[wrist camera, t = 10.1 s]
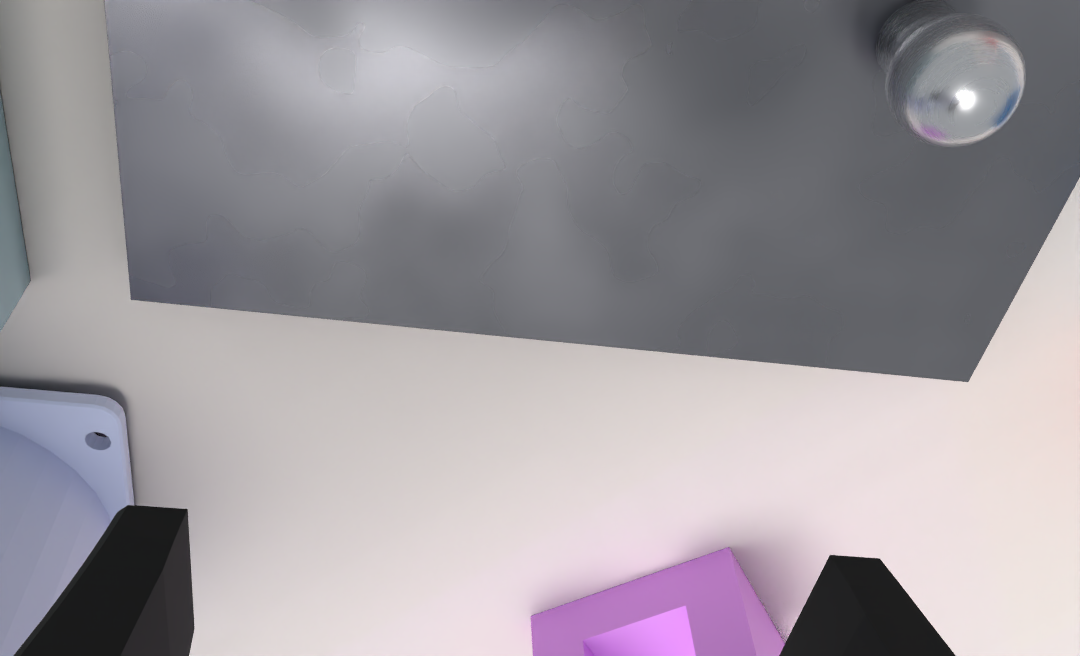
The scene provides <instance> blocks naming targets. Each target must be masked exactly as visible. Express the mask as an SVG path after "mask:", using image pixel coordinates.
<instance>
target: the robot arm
mask: <svg viewBox="0 0 1080 656" xmlns="http://www.w3.org/2000/svg"><path fill="white" fill-rule="evenodd" d="M93 432H99V433H103V434H105V435H106V436H107V437H101V436H98V435H96V434H95V433H93ZM193 633H194V614H193V596H192V579H191V562H190V544H189V527H188V510H187V509H177V508H163V507H149V506H135V505H134V496H133V486H132V476H131V467H130V457H129V447H128V437H127V427H126V418H125V413H124V410H123V408H122V407H121V406H120V405H119V404H118V403H117V402H116V401H115V400H113V399H111V398H109V397H105V396H101V395H94V394H82V393H70V392H58V391H47V390H35V389H23V388H12V387H0V656H189V653H190V648H191V643H192V638H193ZM779 656H955V654H954V653H953V652H952V651H951V649H950V648H949V647H948V645H947V644H946V643H945V642H944V640H943V639H942V638H941V637H940V635H939V634H938V633H937V631H936V630H935V629H934V628H933V626H932V625H931V624H930V622H929V621H928V620H927V618H926V617H925V616H924V615H923V613H922V612H921V611H920V609H919V608H918V607H917V606H916V604H915V603H914V602H913V600H912V599H911V598H910V596H909V595H908V594H907V593H906V591H905V590H904V589H903V587H902V586H901V585H900V584H899V582H898V581H897V580H896V579H895V577H894V576H893V575H892V573H891V572H890V571H889V570H888V568H887V567H886V566H885V565H884V563H883V562H882V561H881V560H880V559H878V558H864V557H850V556H836V555H830V556H829V558H828V560H827V562H826V564H825V566H824V568H823V570H822V572H821V574H820V576H819V578H818V580H817V582H816V584H815V586H814V588H813V590H812V592H811V594H810V596H809V598H808V600H807V602H806V604H805V606H804V608H803V610H802V612H801V614H800V615H799V617H798V619H797V621H796V623H795V625H794V627H793V629H792V631H791V633H790V635H789V637H788V639H787V641H786V643H785V645H784V647H783V649H782V651H781V653H780V655H779Z"/></svg>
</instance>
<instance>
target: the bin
mask: <svg viewBox="0 0 1080 656" xmlns="http://www.w3.org/2000/svg"><path fill="white" fill-rule="evenodd" d="M29 283H30V275H29V268H28V262H27V256H26V250H25V243H24V237H23V231H22V224H21V218H20V212H19V206H18V199H17V193H16V187H15V181H14V174H13V168H12V162H11V156H10V149H9V143H8V137H7V131H6V124H5V118H4V112H3V105H2V99H1V93H0V332H1V330H2V328H3V327H4V325H5V323H6V322H7V320H8V318H9V316H10V315H11V313H12V311H13V310H14V308H15V306H16V305H17V303H18V301H19V300H20V298H21V296H22V294H23V293H24V291H25V289H26V288H27V286H28V284H29Z"/></svg>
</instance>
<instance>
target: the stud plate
mask: <svg viewBox="0 0 1080 656" xmlns="http://www.w3.org/2000/svg"><path fill="white" fill-rule="evenodd" d="M104 2H105V13H106V25H107V36H108V47H109V58H110V69H111V80H112V92H113V103H114V114H115V125H116V136H117V148H118V159H119V170H120V181H121V192H122V203H123V215H124V226H125V237H126V248H127V259H128V270H129V282H130V293H131V300H139V301H150V302H160V303H170V304H180V305H190V306H200V307H211V308H221V309H231V310H241V311H251V312H261V313H272V314H282V315H292V316H302V317H312V318H322V319H332V320H343V321H353V322H363V323H373V324H383V325H393V326H404V327H414V328H424V329H434V330H444V331H454V332H465V333H475V334H485V335H495V336H505V337H515V338H526V339H536V340H546V341H556V342H566V343H576V344H587V345H597V346H607V347H617V348H627V349H637V350H648V351H658V352H668V353H678V354H688V355H698V356H709V357H719V358H729V359H739V360H749V361H759V362H770V363H780V364H790V365H800V366H810V367H820V368H831V369H841V370H851V371H861V372H871V373H881V374H891V375H902V376H912V377H922V378H932V379H942V380H952V381H963V382H968V381H969V380H970V378H971V376H972V374H973V372H974V370H975V368H976V367H977V365H978V363H979V361H980V359H981V357H982V356H983V354H984V352H985V350H986V348H987V346H988V345H989V343H990V341H991V339H992V337H993V335H994V334H995V332H996V330H997V328H998V326H999V324H1000V323H1001V321H1002V319H1003V317H1004V315H1005V313H1006V312H1007V310H1008V308H1009V306H1010V304H1011V302H1012V301H1013V299H1014V297H1015V295H1016V293H1017V291H1018V290H1019V288H1020V286H1021V284H1022V282H1023V280H1024V278H1025V277H1026V275H1027V273H1028V271H1029V269H1030V267H1031V266H1032V264H1033V262H1034V260H1035V258H1036V256H1037V255H1038V253H1039V251H1040V249H1041V247H1042V245H1043V244H1044V242H1045V240H1046V238H1047V236H1048V234H1049V233H1050V231H1051V229H1052V227H1053V225H1054V223H1055V222H1056V220H1057V218H1058V216H1059V214H1060V212H1061V211H1062V209H1063V207H1064V205H1065V203H1066V201H1067V200H1068V198H1069V196H1070V194H1071V192H1072V190H1073V189H1074V187H1075V185H1076V183H1077V181H1078V179H1079V177H1080V0H104Z"/></svg>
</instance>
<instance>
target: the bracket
mask: <svg viewBox="0 0 1080 656" xmlns="http://www.w3.org/2000/svg"><path fill="white" fill-rule="evenodd" d="M531 628H532V646H533V656H779V655H780V653H781V651H782V649H783V647H784V645H785V643H784V641H783V640H782V638H781V636H780V634H779V633H778V631H777V629H776V627H775V626H774V624H773V622H772V621H771V619H770V617H769V615H768V614H767V612H766V610H765V608H764V607H763V605H762V603H761V602H760V600H759V598H758V596H757V595H756V593H755V591H754V589H753V588H752V586H751V584H750V582H749V581H748V579H747V577H746V576H745V574H744V572H743V570H742V569H741V567H740V565H739V563H738V562H737V560H736V558H735V557H734V555H733V553H732V551H731V550H730V548H729V547H728V548H725V549H722V550H719V551H716V552H713V553H710V554H708V555H705V556H702V557H699V558H696V559H693V560H690V561H688V562H685V563H682V564H679V565H676V566H673V567H670V568H667V569H665V570H662V571H659V572H656V573H653V574H650V575H647V576H644V577H642V578H639V579H636V580H633V581H630V582H627V583H624V584H621V585H619V586H616V587H613V588H610V589H607V590H604V591H601V592H599V593H596V594H593V595H590V596H587V597H584V598H581V599H578V600H576V601H573V602H570V603H567V604H564V605H561V606H558V607H555V608H553V609H550V610H547V611H544V612H541V613H538V614H535V615H532V616H531Z"/></svg>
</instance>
